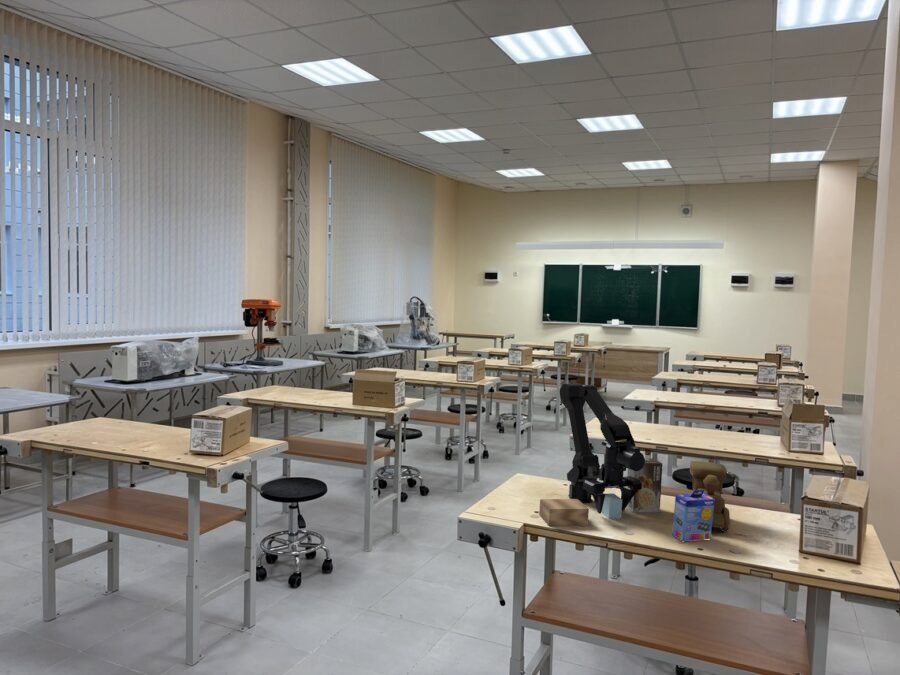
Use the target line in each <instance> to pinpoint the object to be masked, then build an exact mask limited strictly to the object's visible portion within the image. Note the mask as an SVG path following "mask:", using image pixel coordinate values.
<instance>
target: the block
mask: <svg viewBox="0 0 900 675" xmlns="http://www.w3.org/2000/svg"><path fill="white" fill-rule="evenodd" d="M603 493H604V492H603ZM604 494H605V499H604V504H603V508H602V513H603V514H602V513H601V514H602V515H604V516H605V518H607V519H608V520H615V519H614V518H617V520H618V518H621V519H622V513H623V511H622V499H621V497H620V496H618V495H617V494H615V493H614V492H613V493H609V492H608V493H604Z"/></svg>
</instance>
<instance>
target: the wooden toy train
mask: <svg viewBox="0 0 900 675" xmlns="http://www.w3.org/2000/svg"><path fill="white" fill-rule="evenodd" d="M689 464H690V467H689V473H690V475H691V477H692V492H693V491H694V490H704V492H703V494H705V495H708V496H710V497H712V498H713V499H715V503H714V512H713V521H712V528H721V531H722V530H723V531H722V532H724V531H726V532H727V531H729V529H730V521H731V520H730V519H731V516H730V509H729V508H727V507H726V502H725V501H726V500H725V499H724V498H723V497H722V492H723V484H724V481H727V471H728V469H727V468H726V466H725V465H724V464H720V463H716V462H708V461H700V460H690V462H689ZM692 492H690V493H689V494H692ZM696 493H701V492H696Z"/></svg>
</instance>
